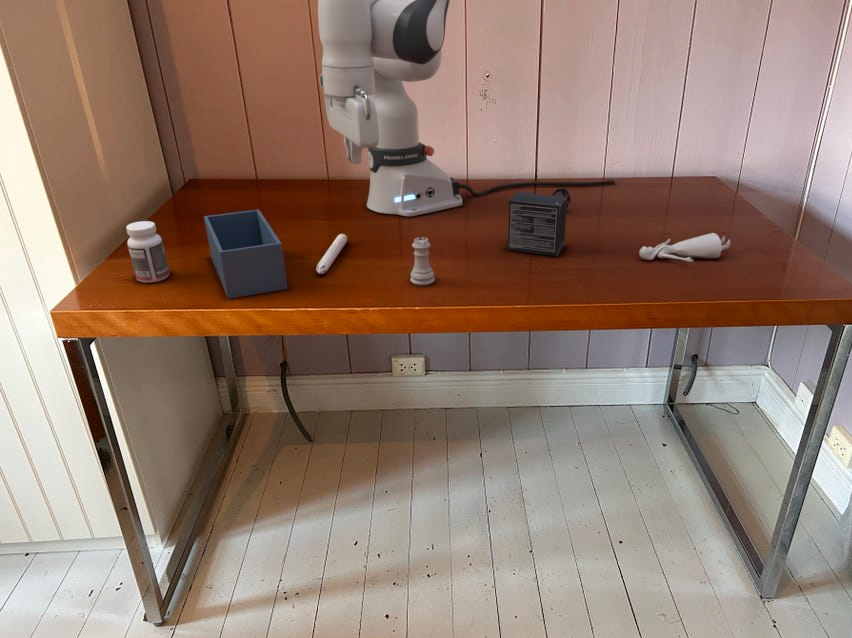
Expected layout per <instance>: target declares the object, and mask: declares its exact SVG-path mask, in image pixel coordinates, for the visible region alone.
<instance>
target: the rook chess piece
mask: <svg viewBox="0 0 852 638" xmlns="http://www.w3.org/2000/svg"><path fill="white" fill-rule="evenodd" d="M420 238H421V239H420ZM411 246H412V248H413V249H414V252H413V255H414V264H413V267H412V271H411V272H410V278H409V279H410V282H411V283H412V284H413V285H415V286H419V287H424V286H429V285H431V284H433V283H434V282H435V277H434V276H435V272H434V270H433V269H432V266H431V265H430V264H431V263H430V259H429V255H430V251H429V248H430V247H431V243H430V242H429V238H428V237H425V236H424V237H423V236H422V237H416V238H414V239H413V243H412V244H411Z"/></svg>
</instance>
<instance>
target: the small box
mask: <svg viewBox="0 0 852 638" xmlns="http://www.w3.org/2000/svg"><path fill="white" fill-rule="evenodd" d="M567 197H568V196H567ZM567 197H560V196H552V195H550V194H549V195H548V194H540V193H531V192H530V193H529V192H519V191H518V192H516V193H515V194H514V195H512V196H511V198H508V225H507V226H508V227H507V229H508V232H507V249H506V250H507V251H511V252H519V253H528V254H534V255H543V256H549V257H550V256H551V257H558V256H559V255H560V253H561V251H563V249H564V247H565V239H566V238H565V237H566V236H565V235H566V223H567V209H568V207H567Z"/></svg>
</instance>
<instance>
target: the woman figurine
mask: <svg viewBox="0 0 852 638" xmlns="http://www.w3.org/2000/svg"><path fill="white" fill-rule="evenodd" d="M722 236H723V237H722V238H721V239H720V236H719V235H718V234H717V233H715V232H711V233H707V234H703V235H699V236H696V237H692V238H687V239H684V240H681V241H679V242H676V243H674V244H672V245H669V243H670V242H671V240H672V238H668V239H667V240H666V241H665V242H662V243H659V244H657V245H656V246H655V247H652V246H645V245H644V246H642V247H641V248H640V249H639V251H638V254H639V255H638V256H639V257H640V258H641V259H642V260H644V261H651V260H654V259H655V258H656V257H657V258H660V259H672V260H678V261H684V262H687V263H694V259H715V260H717V259H719V258H720V257H721V254H722V251H724V250H727V249H730V248H731V246H730V245H731V240H730V239H727V242H726V243H725V241H726V236H725V235H722ZM692 258H693V259H692Z"/></svg>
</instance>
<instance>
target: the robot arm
mask: <svg viewBox="0 0 852 638" xmlns="http://www.w3.org/2000/svg"><path fill="white" fill-rule="evenodd" d="M450 2H451V0H317V20H318V21H317V22H318V23H317V24H318V37H319V40H320V43H321V45H322V46H321V47H322V59H321V71H322V72H321V74H320V75H319V86H320V88H321V89H322V90H323V99H324V106H325V113H326V118H327V123H328V124H329V127H330V128H331V129H333V130H334V131H336V133H338V134H340V135H341V136H343V143H344V147H345V149H346V155H347V156H346V158H347V160H348V161H349V162H350V163H351V164H352V165H360V164H362V153H363V149H367V161H368V163H367V164H368V167H369V170H370V173H369V174H370V175H369V176H370V178H369V191H368V196H367V201H366V208H368V209H369V210H371V211H373V212H375V213H380V214H386V215H399V216H404V217H415V216H419V215H424V214H430V213H434V212H438V211H442V210H443V211H444V210H447V209H452V208H456V207H460V206H462V205H463V204H464V203H463V202H464V201H463V198H462V196H461V194H460V189H465V190H467V191H468V192H469V194H470V195H471V196H474V197H481V196H484V195H488V194H490V193H492V192H494V191H498V190H501V189H509V188H517V187H530V186H532V187H533V186H537V187H538V186H567V187H568V186H570V187H582V186H585V187H586V186H587V187H588V186H600V185H612V184H613V185H614V184H615V183H616V181H615V179H610V180H609V179H608V180H597V181H576V182H575V181H527V182H515V183H514V182H513V183H507V184H501V185H496V186H492V187H489V188H488V189H486V190H484V191H481V192H475V191H474V190H473V189H472V187H471V186H469V185H467V184H464V183H463V184H462V183H460V182H459V181H458V179H456V178H454V177H450V176H449V175H448V174H447V172H445V170H443V169H442V168H440V167H439V166H437V165H436V164H435V163H434V162H432V161H431V160H429V159H428V157H432V156H433V155H434V154H435V149H434V148H433V147H432V146H430V145H426V144H424V143H422V142H420V139H419V112H418V107H417V105H416V104H415V102H414V101H413V100H412V98H411V97H410V96H409V95H408V93H407V91H406V88H405V87H404V83H403V82H407V83H413V82H414V83H415V82H421V81H426V80H429V79H431V78H433V77H434V76H435V75H436V74H437V72H438V70H439V69H440V66H441V63H442V58H443V57H442V56H443V55H442V53H443V52H442V48H443V45H444V41H445V35H446V23H447V15H448V10H449V6H450Z"/></svg>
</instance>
